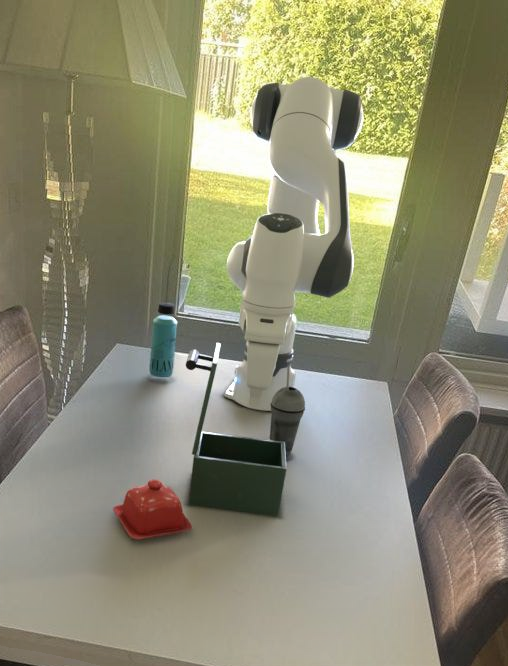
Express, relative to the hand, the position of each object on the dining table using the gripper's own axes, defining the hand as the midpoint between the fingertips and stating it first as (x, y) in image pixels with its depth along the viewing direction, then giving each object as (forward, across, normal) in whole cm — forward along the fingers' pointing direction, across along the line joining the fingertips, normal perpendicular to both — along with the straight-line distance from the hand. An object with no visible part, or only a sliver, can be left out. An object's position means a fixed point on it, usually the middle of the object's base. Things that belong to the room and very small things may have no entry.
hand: (254, 394), depth 123 cm
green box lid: (+2, 0, -8) cm, 8 cm away
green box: (+21, 0, -1) cm, 21 cm away
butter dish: (+21, +14, -15) cm, 29 cm away
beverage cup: (+21, -20, +8) cm, 30 cm away
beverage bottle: (+22, -58, -23) cm, 66 cm away
